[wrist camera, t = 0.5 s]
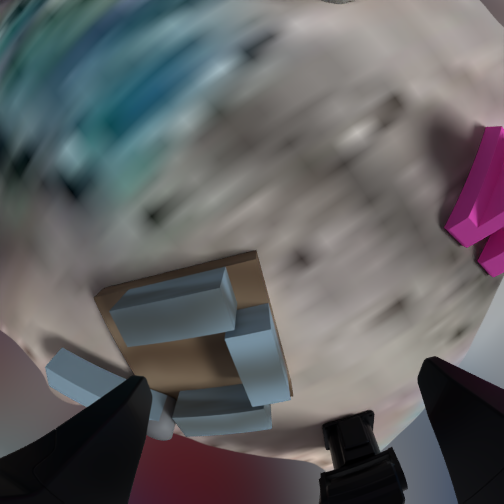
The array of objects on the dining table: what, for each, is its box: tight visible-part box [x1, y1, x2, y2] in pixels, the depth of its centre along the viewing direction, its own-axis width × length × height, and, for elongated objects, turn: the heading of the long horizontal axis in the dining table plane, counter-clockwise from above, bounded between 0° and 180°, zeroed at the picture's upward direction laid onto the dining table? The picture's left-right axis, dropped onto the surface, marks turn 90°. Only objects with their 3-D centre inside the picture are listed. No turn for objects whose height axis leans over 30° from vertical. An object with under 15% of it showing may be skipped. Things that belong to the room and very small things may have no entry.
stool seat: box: [94, 251, 293, 437], centre depth 21 cm, size 14×14×6 cm
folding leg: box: [45, 348, 177, 440], centre depth 21 cm, size 14×3×4 cm, turn 70°
